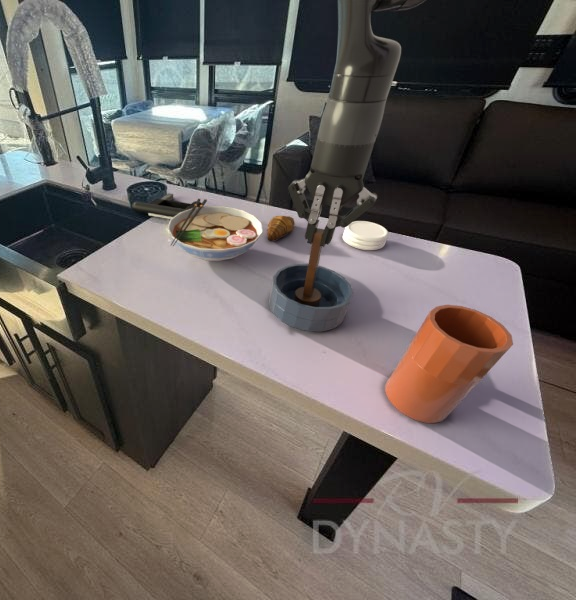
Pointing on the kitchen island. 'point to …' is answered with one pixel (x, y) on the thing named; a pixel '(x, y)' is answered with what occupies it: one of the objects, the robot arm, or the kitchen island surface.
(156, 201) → the door handle
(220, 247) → the ramen bowl
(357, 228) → the coaster
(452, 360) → the crock
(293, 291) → the bowl
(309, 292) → the brown wooden masher
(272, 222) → the croissant
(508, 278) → the kitchen island surface
